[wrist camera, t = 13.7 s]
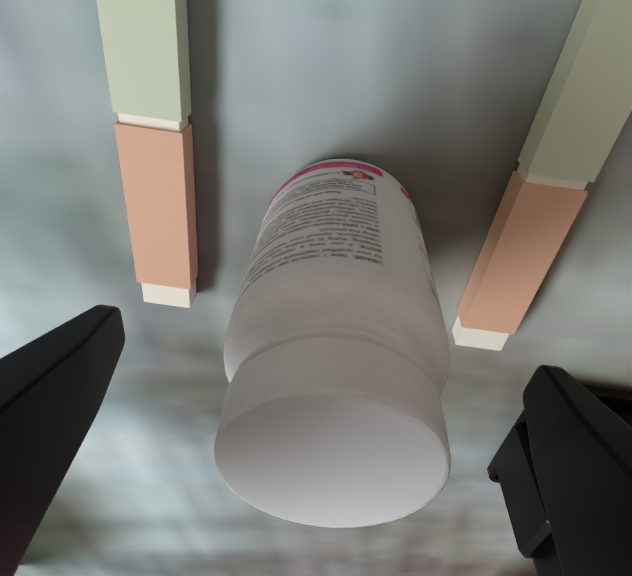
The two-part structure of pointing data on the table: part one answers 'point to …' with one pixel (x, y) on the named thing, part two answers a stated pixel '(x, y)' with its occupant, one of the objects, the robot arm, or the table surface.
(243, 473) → the pill bottle
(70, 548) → the table surface
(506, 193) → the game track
